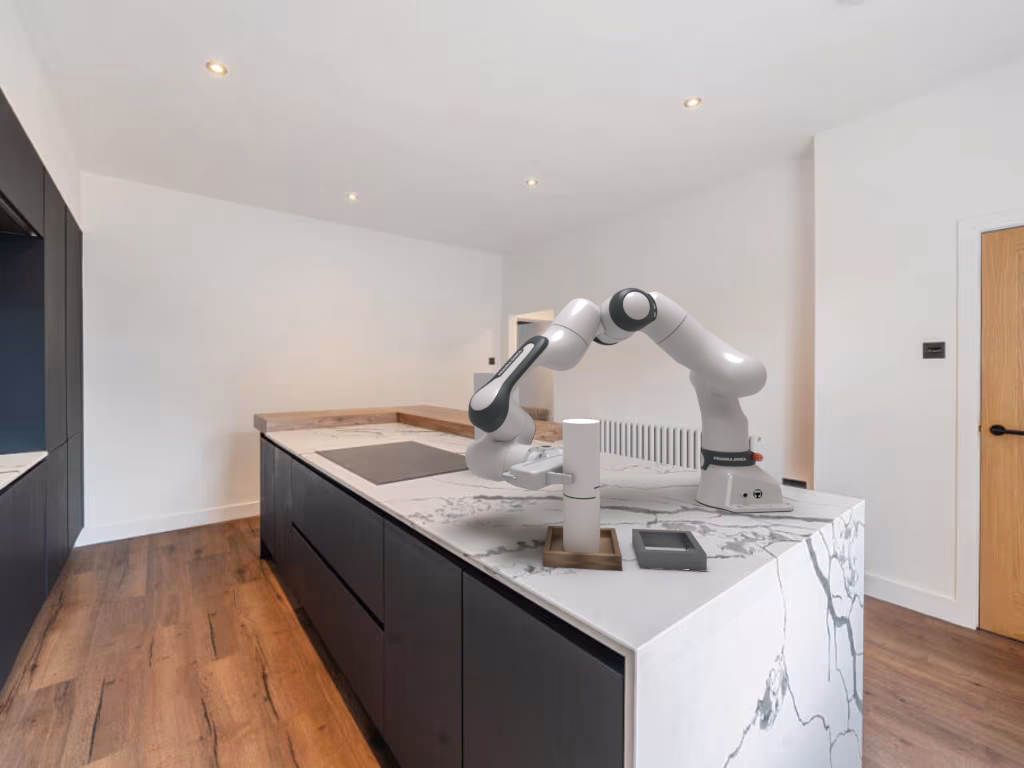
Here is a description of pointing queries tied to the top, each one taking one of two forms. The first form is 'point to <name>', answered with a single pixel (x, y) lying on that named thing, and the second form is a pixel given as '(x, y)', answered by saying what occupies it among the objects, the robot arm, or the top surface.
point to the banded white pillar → (479, 382)
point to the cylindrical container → (581, 485)
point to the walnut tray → (603, 559)
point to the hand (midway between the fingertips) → (585, 474)
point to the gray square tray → (668, 558)
